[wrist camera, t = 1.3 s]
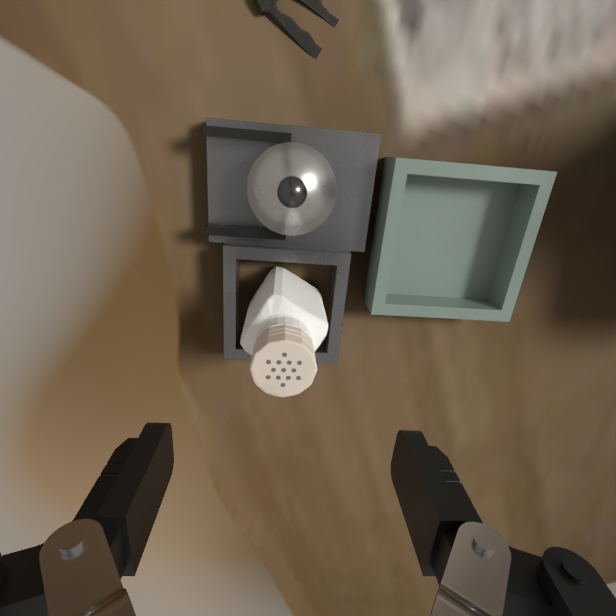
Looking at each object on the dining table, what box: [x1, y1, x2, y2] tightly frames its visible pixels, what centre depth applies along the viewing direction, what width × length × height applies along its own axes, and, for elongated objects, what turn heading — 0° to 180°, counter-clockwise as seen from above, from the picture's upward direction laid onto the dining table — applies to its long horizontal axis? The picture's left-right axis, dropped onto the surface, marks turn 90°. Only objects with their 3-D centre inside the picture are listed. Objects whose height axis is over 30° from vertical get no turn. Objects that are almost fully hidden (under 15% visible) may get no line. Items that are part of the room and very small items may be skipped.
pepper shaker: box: [240, 266, 328, 397], centre depth 22 cm, size 4×4×10 cm
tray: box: [364, 157, 557, 322], centre depth 24 cm, size 10×10×3 cm
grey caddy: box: [202, 118, 381, 363], centre depth 23 cm, size 15×10×4 cm, turn 175°
